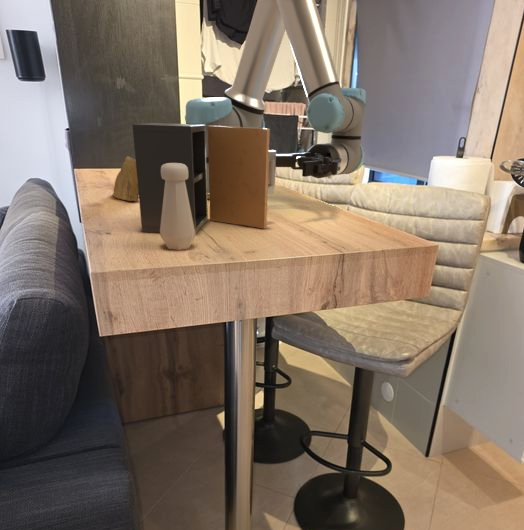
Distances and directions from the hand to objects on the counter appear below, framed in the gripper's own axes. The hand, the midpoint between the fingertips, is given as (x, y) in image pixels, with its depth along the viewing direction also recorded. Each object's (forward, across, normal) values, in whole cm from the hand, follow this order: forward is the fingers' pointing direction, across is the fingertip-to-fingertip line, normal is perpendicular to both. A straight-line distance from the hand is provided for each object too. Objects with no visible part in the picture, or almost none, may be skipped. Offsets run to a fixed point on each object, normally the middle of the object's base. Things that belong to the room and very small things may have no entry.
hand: (276, 166), depth 94 cm
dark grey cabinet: (+19, +10, -11) cm, 24 cm away
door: (+7, +2, -10) cm, 13 cm away
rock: (+7, +41, -11) cm, 43 cm away
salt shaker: (+30, -2, -11) cm, 32 cm away
